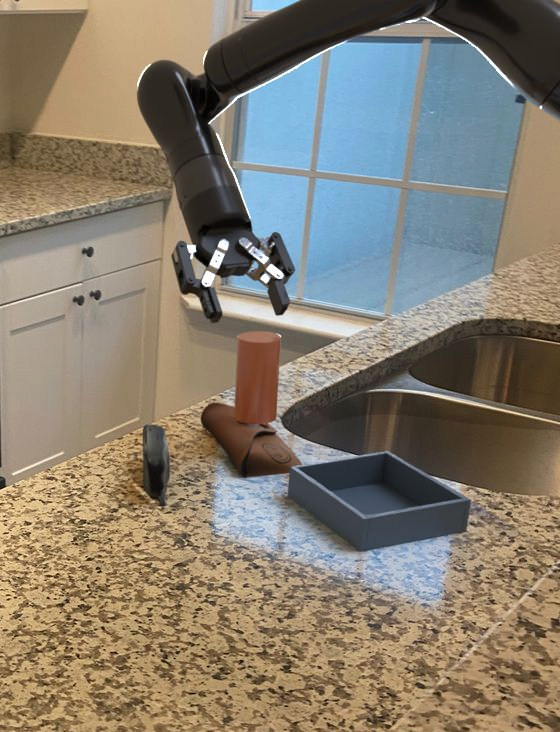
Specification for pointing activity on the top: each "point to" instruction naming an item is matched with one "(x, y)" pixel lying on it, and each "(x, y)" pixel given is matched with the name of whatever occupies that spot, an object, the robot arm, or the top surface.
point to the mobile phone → (155, 462)
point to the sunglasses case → (248, 443)
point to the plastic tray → (378, 500)
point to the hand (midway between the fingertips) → (250, 315)
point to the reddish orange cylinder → (257, 377)
